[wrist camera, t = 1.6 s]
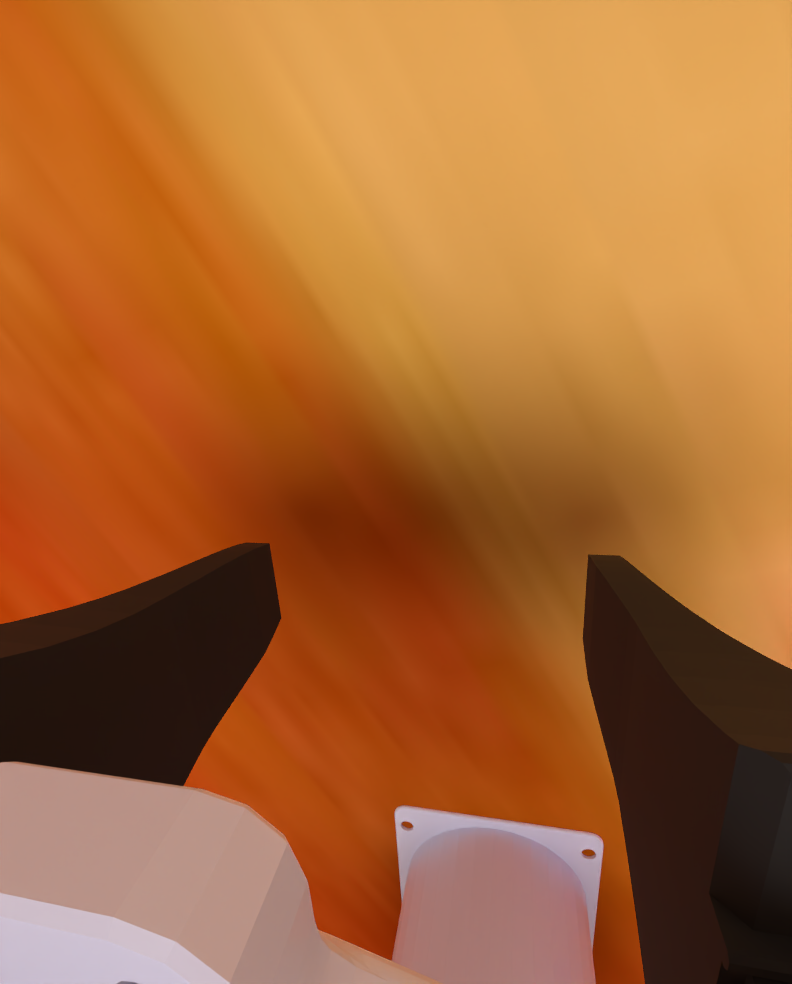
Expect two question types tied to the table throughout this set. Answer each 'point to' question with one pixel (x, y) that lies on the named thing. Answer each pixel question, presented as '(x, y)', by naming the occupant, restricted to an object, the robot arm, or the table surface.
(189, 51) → the table surface
